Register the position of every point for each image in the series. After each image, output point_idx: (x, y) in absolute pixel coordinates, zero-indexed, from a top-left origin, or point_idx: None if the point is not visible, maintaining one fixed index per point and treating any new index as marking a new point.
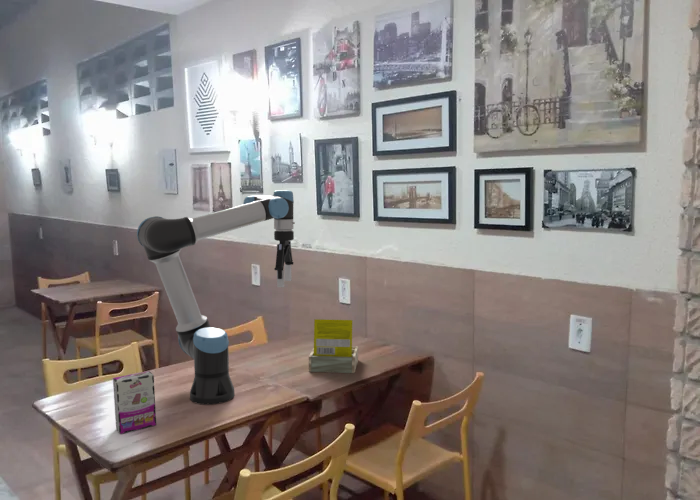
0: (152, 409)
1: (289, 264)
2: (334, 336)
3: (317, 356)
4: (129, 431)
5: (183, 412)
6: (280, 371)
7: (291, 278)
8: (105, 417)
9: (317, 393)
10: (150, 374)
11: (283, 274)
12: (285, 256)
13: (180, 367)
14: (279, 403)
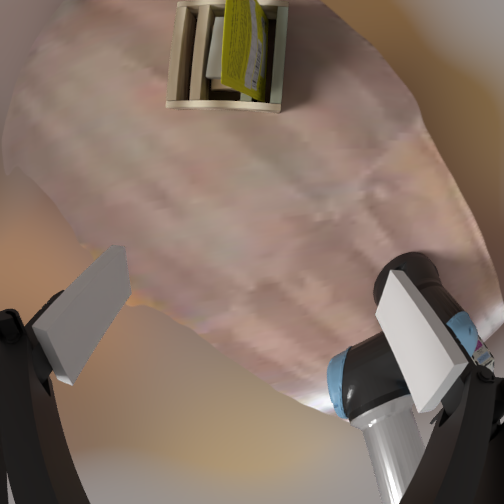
0: None
1: (38, 346)
2: (249, 29)
3: (276, 87)
4: None
5: None
6: (279, 180)
7: (104, 253)
8: None
9: (411, 100)
10: (492, 361)
11: (449, 336)
12: (72, 481)
13: (256, 360)
14: (448, 172)
